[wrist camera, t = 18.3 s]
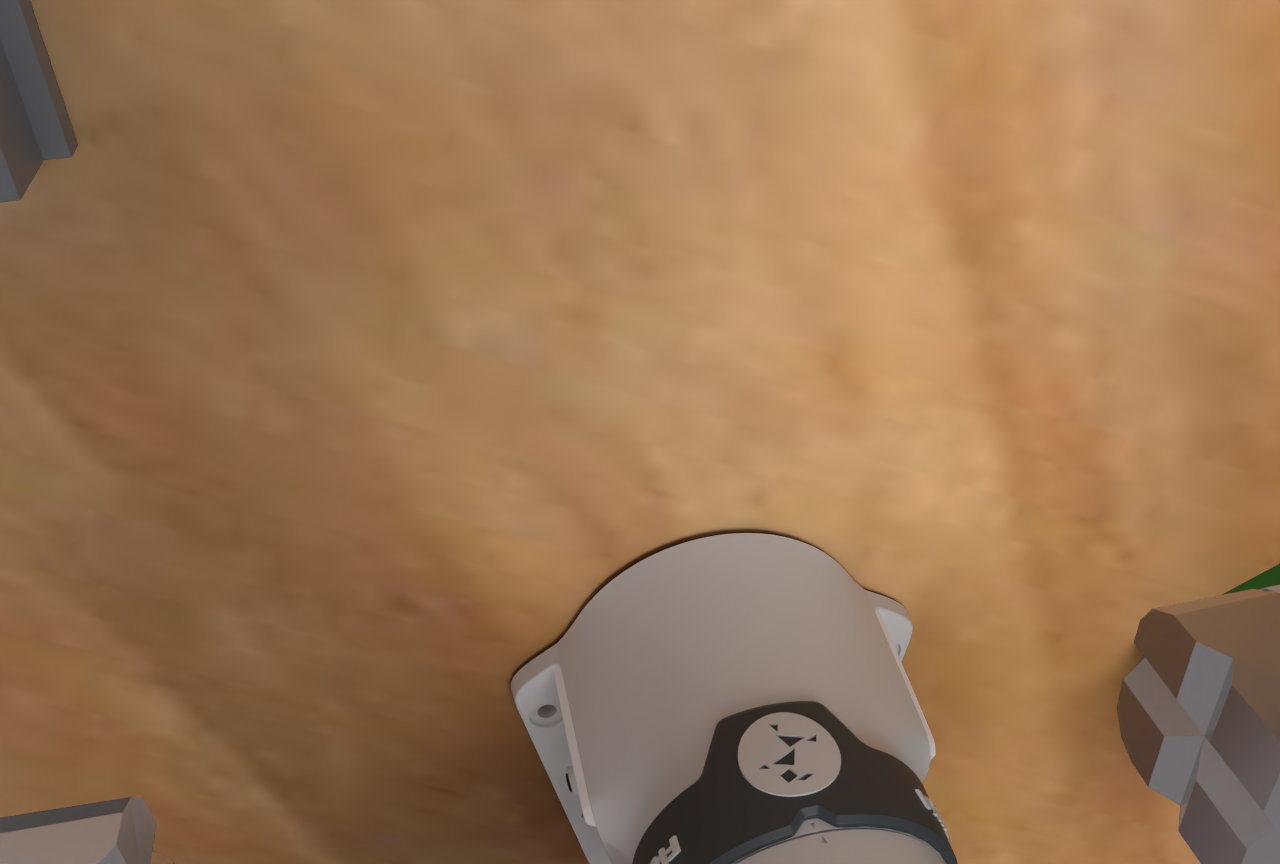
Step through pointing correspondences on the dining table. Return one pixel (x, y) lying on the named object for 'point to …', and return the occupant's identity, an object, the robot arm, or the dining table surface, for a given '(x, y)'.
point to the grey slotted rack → (27, 102)
